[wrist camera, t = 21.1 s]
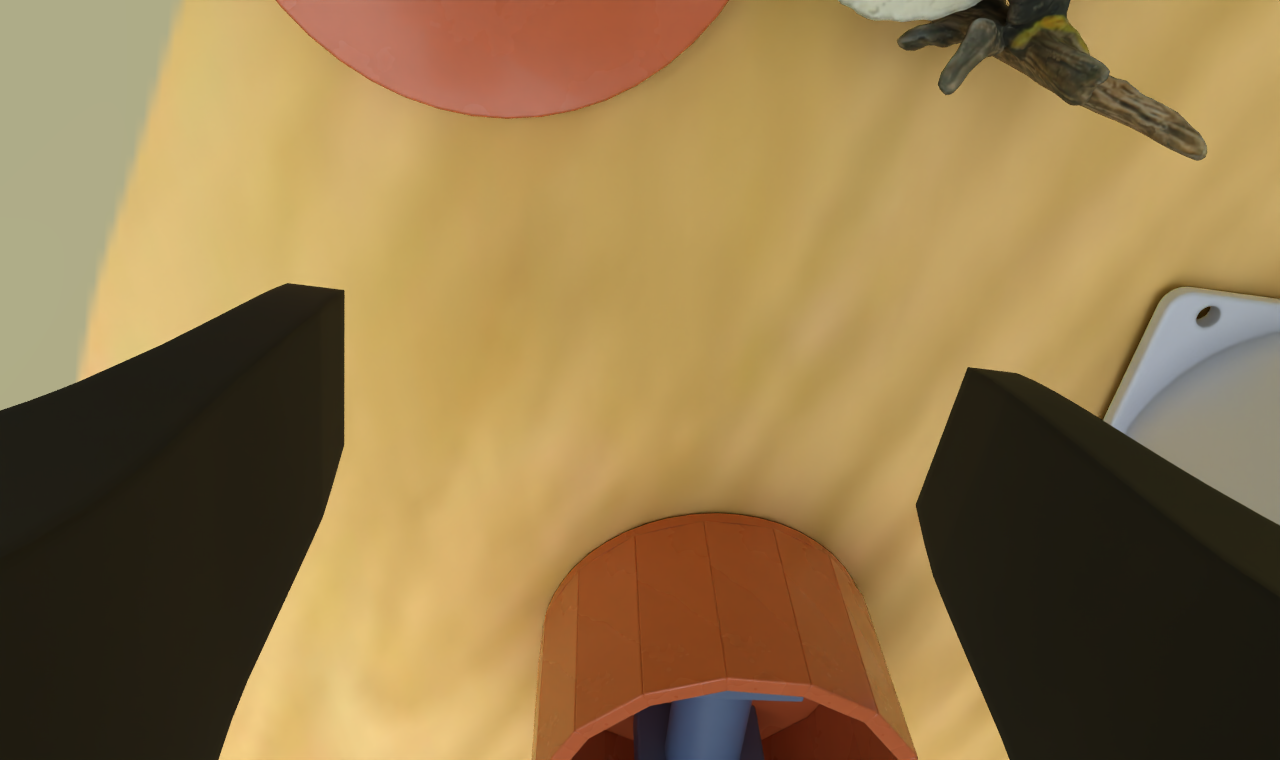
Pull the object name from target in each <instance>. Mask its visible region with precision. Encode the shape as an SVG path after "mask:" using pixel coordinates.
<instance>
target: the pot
mask: <svg viewBox="0 0 1280 760" xmlns="http://www.w3.org/2000/svg"><path fill="white" fill-rule="evenodd" d="M724 691H735V692H748V693H760V694H772V695H784V696H797V697H804V698H803V701H802V702H794V701H766V700H752V705H751V706H754V707H755V709H756V714H757V719H758V725H759V731H760V736H761V742H762V748H763V753H764V759H765V760H918V756H917V753H916V751H915V748H914V745H913V742H912V739H911V736H910V733H909V730H908V727H907V724H906V721H905V718H904V715H903V712H902V709H901V706H900V703H899V701H898V698H897V695H896V692H895V689H894V686H893V683H892V680H891V677H890V674H889V671H888V668H887V665H886V662H885V659H884V656H883V653H882V651H881V648H880V645H879V642H878V639H877V636H876V633H875V630H874V627H873V624H872V621H871V618H870V615H869V612H868V609H867V606H866V603H865V601H864V598H863V595H862V594H861V593H860V592H859V590H858V589H857V587H856V585H855V583H854V581H853V579H852V577H851V576H850V575H849V573H848V572H847V570H846V569H845V567H844V566H843V565H842V564H841V563H840V562H839V561H838V560H837V559H836V558H835V557H834V555H833V554H832V553H831V552H829V551H828V550H827V549H825V548H824V547H823V546H821V545H820V544H819V543H817V542H816V541H815V540H813V539H811V538H809V537H808V536H806V535H804V534H802V533H801V532H799V531H796V530H794V529H792V528H789V527H787V526H784V525H782V524H779V523H776V522H772V521H768V520H765V519H761V518H757V517H751V516H744V515H738V514H721V513H708V514H690V515H684V516H678V517H672V518H667V519H663V520H659V521H655V522H652V523H648V524H645V525H642V526H640V527H637V528H635V529H632V530H629V531H627V532H625V533H623V534H621V535H619V536H617V537H615V538H613V539H611V540H609V541H607V542H606V543H604V544H603V545H601V546H600V547H598V548H597V549H595V550H594V551H592V552H591V553H590V554H588V555H587V556H586V557H585V558H584V559H583V560H582V561H581V562H579V563H578V564H577V565H576V566H575V567H574V568H573V569H572V571H571V572H570V573H569V574H568V575H567V576H566V577H565V579H564V580H563V581H562V583H561V584H560V586H559V587H558V589H557V591H556V592H555V594H554V595H553V597H552V600H551V602H550V604H549V607H548V609H547V611H546V615H545V620H544V624H543V632H542V642H541V649H540V656H539V665H538V679H537V692H536V706H535V720H534V734H533V747H532V760H634V738H633V721H634V714H636V713H638V712H640V711H642V710H644V709H645V708H647V707H649V706H652V705H657V704H662V703H671V702H673V701H678V700H683V699H688V698H693V697H698V696H703V695H708V694H713V693H719V692H724Z"/></svg>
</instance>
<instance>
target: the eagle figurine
mask: <svg viewBox="0 0 1280 760" xmlns="http://www.w3.org/2000/svg"><path fill="white" fill-rule="evenodd" d="M838 1H839V2H840V3H841V4H843V5H845V6H847V7H849V8H851V9H853V10H854V11H855V12H856V13H857V14H859V15H861V16H863V17H865V18H867V19H870V20H874V21H882V20H892V21H898V22H907V21H915V20H929V21H931V22H932V23H929V24H925V25H919V26H917V27H914V28H912V29H910V30H908V31H907V32H905V33H904V34H903V35H902V36H901V37H899V39H898V40H897V43H898V45H899V46H900V47H901V48H903V49H904V50H911V51H915V50H918V49H920V48H923V47H925V46H928V45H934V46H938V47H948V46H950V45H952V44H958V43H961V45H960V47H959V48H958V50H957V52H956V53H955V54H954V56H953V57H952V58H951V59H950V61H949V62H948V64H947V65H946V67H945V68H944V70H943V71H942V73H941V75H940V78H939V82H938V86H939V88H940V90H941V91H942V92H943V93H944V94H945V95H950V94H952V93H953V92H955V90H956V89H957V88H958V87H959V86H960V85H961V83H962V82H963V80H964V79H965V78H966V76H967V75H968V73H969V72H970V71H971V70H972V69H973V68H974V67H975V66H976V65H977V64H978V63H979V62H981V61H982V60H983V59H984V58H986V57H989V56H994V57H995V58H997V59H999V60H1001V61H1002V62H1004V63H1006V64H1008V65H1010V66H1011V67H1013V68H1015V69H1017V70H1018V71H1020V72H1022V73H1024V74H1025V75H1027V76H1029V77H1030V78H1031V79H1033V80H1034V81H1035V82H1037V83H1038V84H1040V85H1041V86H1043V87H1045V88H1047V89H1048V90H1050V91H1052V92H1053V93H1055V94H1056V95H1058V96H1059V97H1060V98H1061V99H1062V100H1064V101H1065V102H1066V103H1068V104H1070V105H1080V106H1083V107H1085V108H1087V109H1089V110H1091V111H1093V112H1095V113H1098V114H1100V115H1103V116H1105V117H1108V118H1110V119H1112V120H1115V121H1117V122H1119V123H1122V124H1124V125H1126V126H1129V127H1131V128H1133V129H1135V130H1137V131H1138V132H1140V133H1142V134H1144V135H1146V136H1148V137H1149V138H1151V139H1153V140H1154V141H1156V142H1158V143H1160V144H1161V145H1163V146H1165V147H1167V148H1169V149H1171V150H1173V151H1175V152H1177V153H1179V154H1182V155H1184V156H1186V157H1189V158H1191V159H1194V160H1197V161H1199V160H1202V159H1203V158H1205V157H1206V154H1207V145H1206V143H1205V141H1204V139H1203V138H1202V136H1201V135H1200V133H1199V132H1198V131H1196V130H1195V129H1194V128H1193V127H1192V126H1191V125H1190V124H1189V123H1188V122H1187V121H1186V120H1185V119H1184V118H1183V117H1182V116H1181V115H1180V114H1179V113H1178V112H1176V111H1174V110H1172V109H1171V108H1169V107H1167V106H1165V105H1164V104H1162V103H1159V102H1157V101H1156V100H1154V99H1152V98H1149V97H1147V96H1145V95H1143V94H1142V93H1140V92H1139V91H1138V90H1137V89H1136V88H1135V87H1133V86H1132V85H1131V84H1129V83H1128V82H1127V81H1125V80H1121V79H1117V78H1114V77H1112V76H1110V75H1109V73H1110V71H1109V69H1108V68H1107V67H1106V66H1105V65H1104V64H1103V63H1102V62H1100V61H1098V60H1097V59H1095V58H1093V57H1091V56H1090V53H1089V50H1088V48H1087V45H1086V44H1085V43H1084V41H1083V40H1082V38H1081V36H1080V35H1079V33H1078V31H1077V30H1076V29H1075V28H1074V27H1072V26H1071V24H1070V23H1069V22H1068V19H1067V10H1068V7H1069V4H1070V0H1008V1H1009V4H1010V5H1009V6H1007V5H1006V1H1005V0H838Z"/></svg>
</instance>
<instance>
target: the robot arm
mask: <svg viewBox="0 0 1280 760" xmlns="http://www.w3.org/2000/svg"><path fill="white" fill-rule="evenodd" d="M1209 306H1211V307H1210V311H1209V312H1208V313H1207V314H1206V316H1204V317H1202V318H1200V319H1196V318H1197V315H1198V314H1199V312H1200V311H1201V310H1202V309H1204V308H1206V307H1209ZM343 447H344V290H338V289H330V288H322V287H314V286H305V285H297V284H289V283H287V284H284V285H282V286H279V287H276V288H274V289H272V290H269V291H267V292H265V293H263V294H261V295H259V296H257V297H255V298H253V299H251V300H249V301H247V302H245V303H243V304H241V305H239V306H237V307H235V308H233V309H231V310H230V311H228V312H226V313H224V314H222V315H220V316H218V317H216V318H214V319H212V320H210V321H208V322H206V323H204V324H202V325H200V326H198V327H196V328H194V329H192V330H190V331H188V332H186V333H184V334H182V335H180V336H178V337H176V338H174V339H172V340H170V341H168V342H166V343H164V344H162V345H160V346H158V347H156V348H153V349H151V350H149V351H147V352H145V353H142V354H140V355H138V356H136V357H133V358H131V359H129V360H127V361H124V362H122V363H120V364H118V365H115V366H113V367H111V368H109V369H106V370H104V371H102V372H100V373H97V374H95V375H93V376H91V377H88V378H86V379H84V380H82V381H79V382H77V383H74V384H72V385H69V386H67V387H64V388H62V389H60V390H57V391H54V392H52V393H49V394H46V395H44V396H41V397H38V398H36V399H33V400H30V401H28V402H24V403H21V404H18V405H16V406H13V407H10V408H7V409H4V410H1V411H0V760H218V759H219V756H220V753H221V750H222V747H223V744H224V741H225V738H226V735H227V732H228V729H229V726H230V723H231V720H232V718H233V715H234V713H235V710H236V708H237V705H238V703H239V701H240V698H241V696H242V693H243V691H244V688H245V686H246V683H247V681H248V679H249V676H250V674H251V672H252V670H253V668H254V666H255V663H256V661H257V659H258V657H259V655H260V653H261V651H262V648H263V646H264V644H265V642H266V640H267V638H268V635H269V633H270V631H271V629H272V627H273V625H274V622H275V620H276V618H277V616H278V614H279V612H280V610H281V607H282V605H283V603H284V601H285V599H286V597H287V594H288V592H289V590H290V588H291V586H292V584H293V582H294V579H295V577H296V575H297V573H298V571H299V569H300V566H301V564H302V562H303V560H304V558H305V555H306V553H307V551H308V549H309V547H310V544H311V542H312V540H313V538H314V536H315V533H316V531H317V529H318V527H319V524H320V522H321V520H322V518H323V515H324V511H325V508H326V505H327V502H328V498H329V495H330V492H331V489H332V485H333V482H334V479H335V475H336V472H337V468H338V464H339V461H340V457H341V454H342V450H343ZM916 508H917V513H918V517H919V522H920V526H921V531H922V535H923V539H924V544H925V548H926V551H927V555H928V559H929V562H930V566H931V570H932V573H933V577H934V579H935V582H936V584H937V587H938V589H939V592H940V594H941V597H942V599H943V602H944V604H945V607H946V609H947V611H948V614H949V616H950V619H951V621H952V623H953V626H954V628H955V631H956V633H957V635H958V638H959V640H960V642H961V645H962V647H963V649H964V652H965V654H966V656H967V659H968V661H969V663H970V666H971V668H972V670H973V673H974V675H975V677H976V680H977V682H978V684H979V687H980V689H981V691H982V694H983V696H984V698H985V701H986V703H987V705H988V708H989V710H990V712H991V715H992V717H993V719H994V722H995V724H996V726H997V729H998V731H999V734H1000V736H1001V738H1002V741H1003V743H1004V746H1005V749H1006V751H1007V754H1008V757H1009V759H1010V760H1280V299H1276V298H1268V297H1261V296H1254V295H1246V294H1239V293H1232V292H1225V291H1217V290H1210V289H1203V288H1195V287H1179V288H1176V289H1174V290H1171V291H1170V292H1169V293H1167V294H1166V295H1165V296H1163V298H1162V299H1161V301H1160V302H1159V303H1158V305H1157V307H1156V309H1155V312H1154V314H1153V316H1152V318H1151V320H1150V322H1149V324H1148V326H1147V328H1146V330H1145V333H1144V335H1143V337H1142V339H1141V341H1140V343H1139V345H1138V347H1137V349H1136V352H1135V354H1134V356H1133V358H1132V360H1131V362H1130V364H1129V366H1128V368H1127V370H1126V373H1125V375H1124V377H1123V379H1122V381H1121V383H1120V385H1119V387H1118V389H1117V391H1116V394H1115V396H1114V398H1113V400H1112V402H1111V404H1110V406H1109V408H1108V410H1107V413H1106V415H1105V417H1104V419H1103V420H1101V419H1100V418H1098V417H1096V416H1095V415H1093V414H1092V413H1090V412H1088V411H1087V410H1085V409H1084V408H1082V407H1080V406H1079V405H1077V404H1075V403H1074V402H1072V401H1070V400H1068V399H1067V398H1065V397H1063V396H1061V395H1060V394H1058V393H1056V392H1055V391H1053V390H1051V389H1049V388H1047V387H1045V386H1043V385H1042V384H1040V383H1038V382H1036V381H1034V380H1031V379H1029V378H1027V377H1025V376H1022V375H1020V374H1017V373H1011V372H1002V371H994V370H986V369H978V368H970V367H968V368H967V371H966V373H965V376H964V379H963V381H962V384H961V387H960V389H959V392H958V395H957V397H956V400H955V402H954V405H953V408H952V410H951V413H950V416H949V418H948V421H947V424H946V426H945V429H944V432H943V434H942V437H941V439H940V442H939V445H938V447H937V450H936V453H935V455H934V458H933V461H932V463H931V466H930V469H929V471H928V474H927V476H926V479H925V482H924V484H923V487H922V490H921V492H920V495H919V498H918V500H917V503H916Z"/></svg>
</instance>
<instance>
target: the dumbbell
mask: <svg viewBox="0 0 1280 760" xmlns="http://www.w3.org/2000/svg"><path fill="white" fill-rule="evenodd" d="M803 698H804V697H797V696H784V695H772V694H760V693H748V692H735V691H724V692H719V693H713V694H708V695H703V696H698V697H693V698H688V699H683V700H678V701H673V702H671V703H662V704H657V705H652V706H649V707H647V708H645V709H644V710H642V711H640V712H638V713H636V714H634V721H633V738H634V760H765V759H764V753H763V748H762V742H761V736H760V731H759V725H758V719H757V714H756V709H755V707H754V706H751V705H752V700H766V701H794V702H802V701H803Z"/></svg>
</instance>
